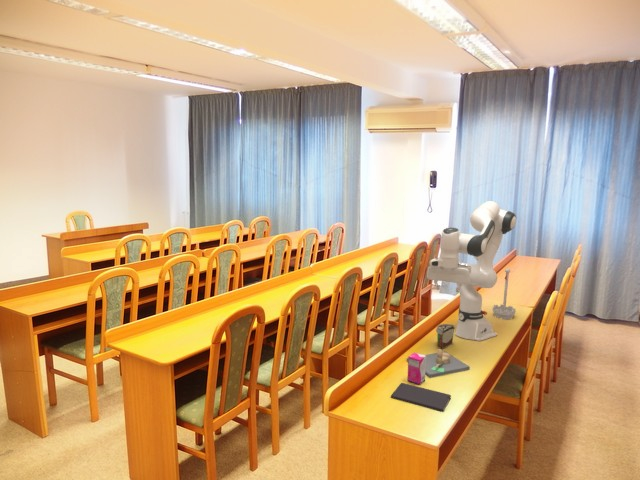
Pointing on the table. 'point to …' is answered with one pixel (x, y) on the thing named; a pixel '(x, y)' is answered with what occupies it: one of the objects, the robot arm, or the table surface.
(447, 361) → the tan wooden handled piece
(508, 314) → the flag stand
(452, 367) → the flat gray board
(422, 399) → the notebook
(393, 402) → the table surface
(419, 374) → the supplement box
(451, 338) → the brown cream half-round block
